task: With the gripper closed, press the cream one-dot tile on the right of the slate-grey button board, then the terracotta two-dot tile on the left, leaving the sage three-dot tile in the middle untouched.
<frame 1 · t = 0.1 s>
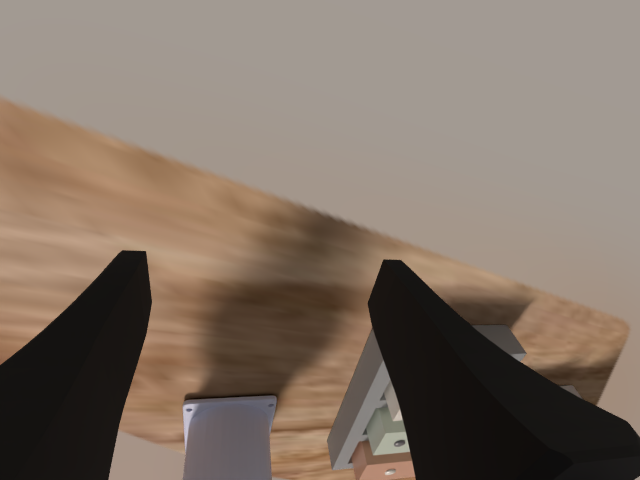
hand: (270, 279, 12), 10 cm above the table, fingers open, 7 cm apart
tile one cream: (444, 387, 31), point 4 cm above the table, slide at 0.0 cm
button board: (407, 389, 37), on the table
tile three sage: (420, 424, 35), point 4 cm above the table, slide at 0.0 cm
tile two terracotta: (400, 454, 38), point 4 cm above the table, slide at 0.0 cm
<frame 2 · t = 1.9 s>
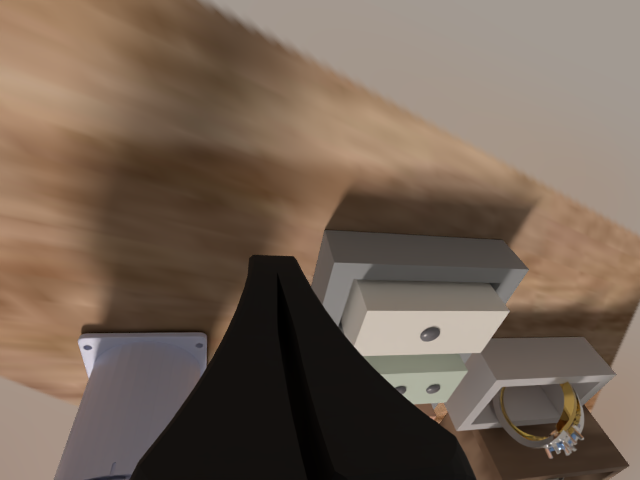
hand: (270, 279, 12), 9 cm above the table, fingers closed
ring: (509, 364, 36), resting in bracelet dish
bracelet dish: (509, 364, 36), on the table
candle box: (489, 424, 44), on the table
tile one cream: (420, 315, 24), point 4 cm above the table, slide at 0.0 cm
button board: (378, 332, 30), on the table
tile three sage: (392, 371, 27), point 4 cm above the table, slide at 0.0 cm
tile two terracotta: (370, 415, 31), point 4 cm above the table, slide at 0.0 cm
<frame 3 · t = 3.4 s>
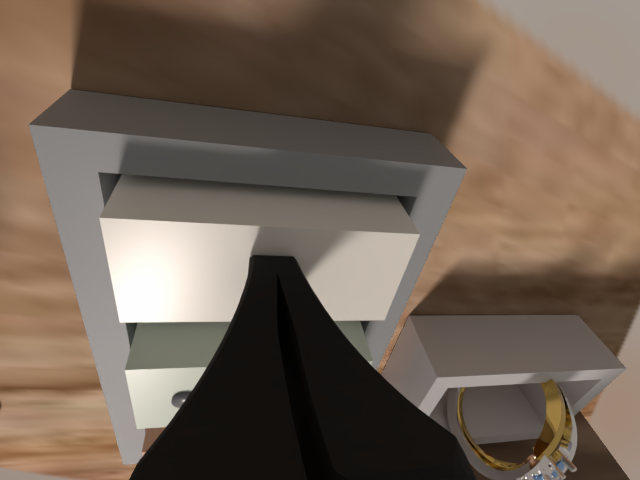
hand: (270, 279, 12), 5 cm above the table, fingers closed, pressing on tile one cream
ring: (471, 355, 25), resting in bracelet dish
bracelet dish: (471, 355, 25), on the table
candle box: (455, 437, 33), on the table
tile one cream: (266, 249, 13), point 3 cm above the table, slide at 0.4 cm, touching gripper
button board: (251, 302, 19), on the table
tile three sage: (253, 363, 16), point 4 cm above the table, slide at 0.0 cm
tile two terracotta: (244, 433, 20), point 4 cm above the table, slide at 0.0 cm
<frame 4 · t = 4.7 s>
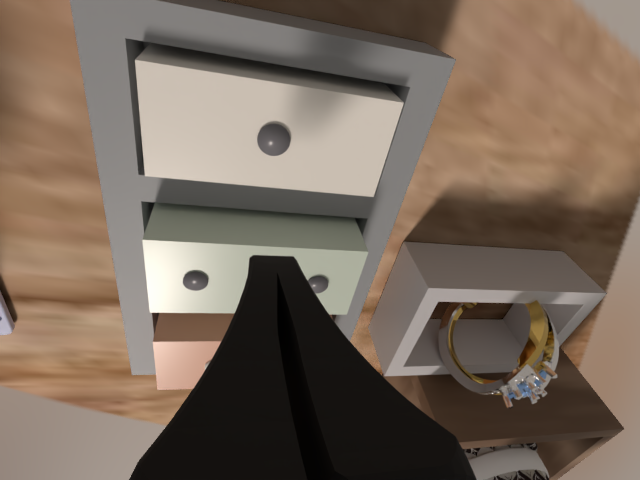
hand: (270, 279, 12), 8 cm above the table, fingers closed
ring: (462, 290, 27), resting in bracelet dish
bracelet dish: (462, 290, 27), on the table
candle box: (446, 384, 35), on the table
decorative candle: (445, 382, 35), resting in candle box
tile one cream: (271, 124, 15), point 2 cm above the table, slide at 1.2 cm
button board: (255, 217, 20), on the table
tile three sage: (257, 260, 17), point 4 cm above the table, slide at 0.0 cm
tile two terracotta: (247, 342, 21), point 4 cm above the table, slide at 0.0 cm
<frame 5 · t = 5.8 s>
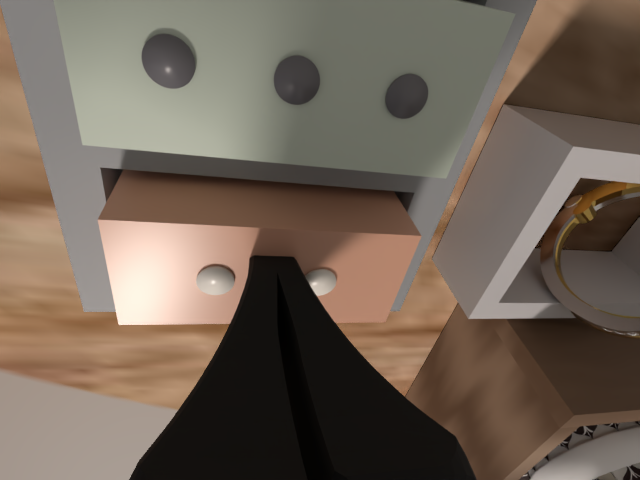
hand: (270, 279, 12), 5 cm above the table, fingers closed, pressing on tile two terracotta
ring: (570, 201, 19), resting in bracelet dish
bracelet dish: (569, 201, 19), on the table
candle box: (519, 350, 27), on the table
decorative candle: (517, 347, 27), resting in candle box
button board: (278, 36, 12), on the table
tile three sage: (289, 63, 9), point 4 cm above the table, slide at 0.0 cm
tile two terracotta: (266, 251, 13), point 4 cm above the table, slide at 0.0 cm, touching gripper
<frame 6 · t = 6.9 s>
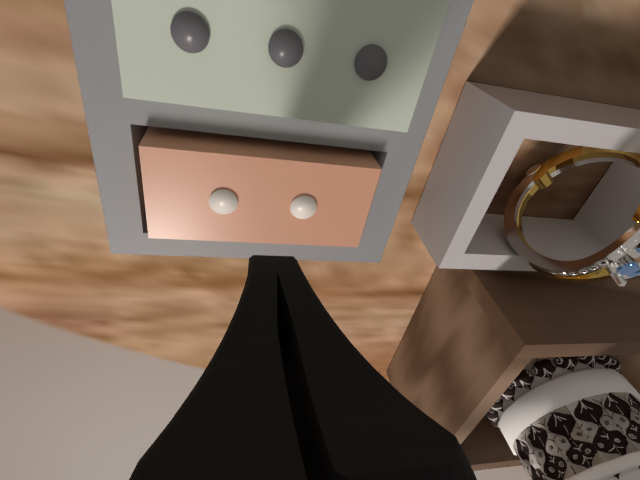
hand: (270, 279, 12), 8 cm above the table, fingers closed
ring: (531, 170, 21), resting in bracelet dish
bracelet dish: (531, 170, 21), on the table
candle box: (496, 314, 29), on the table
decorative candle: (494, 312, 29), resting in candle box
button board: (274, 21, 15), on the table
tile three sage: (281, 38, 12), point 4 cm above the table, slide at 0.0 cm
tile two terracotta: (262, 186, 16), point 2 cm above the table, slide at 1.1 cm
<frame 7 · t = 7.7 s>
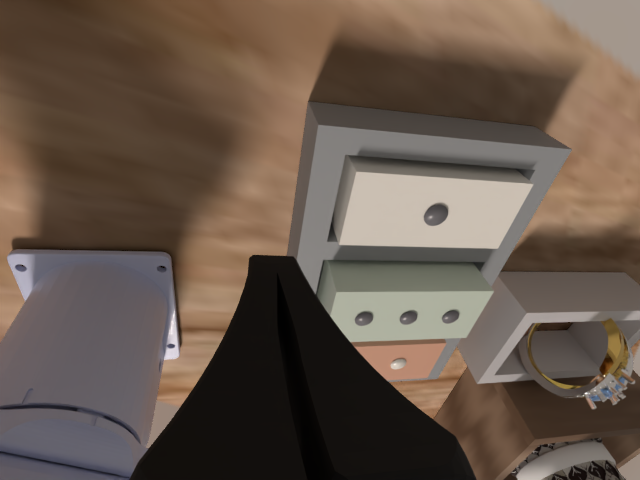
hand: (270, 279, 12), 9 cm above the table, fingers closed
ring: (536, 308, 31), resting in bracelet dish
bracelet dish: (536, 308, 31), on the table
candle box: (512, 387, 39), on the table
decorative candle: (511, 385, 39), resting in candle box
tile one cream: (424, 199, 20), point 2 cm above the table, slide at 1.2 cm
button board: (381, 259, 25), on the table
tile three sage: (399, 298, 22), point 4 cm above the table, slide at 0.0 cm
tile two terracotta: (370, 346, 26), point 2 cm above the table, slide at 1.1 cm
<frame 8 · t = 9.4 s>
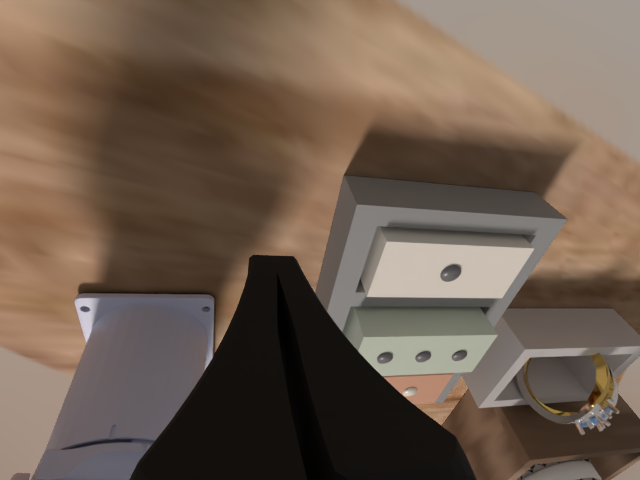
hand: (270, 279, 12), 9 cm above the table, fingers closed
ring: (533, 338, 34), resting in bracelet dish
bracelet dish: (533, 338, 34), on the table
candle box: (508, 406, 42), on the table
decorative candle: (507, 404, 42), resting in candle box
tile one cream: (439, 256, 23), point 2 cm above the table, slide at 1.2 cm
button board: (397, 298, 28), on the table
tile three sage: (414, 337, 25), point 4 cm above the table, slide at 0.0 cm
tile two terracotta: (384, 375, 29), point 2 cm above the table, slide at 1.1 cm
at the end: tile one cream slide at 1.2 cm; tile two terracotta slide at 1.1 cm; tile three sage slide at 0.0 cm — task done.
